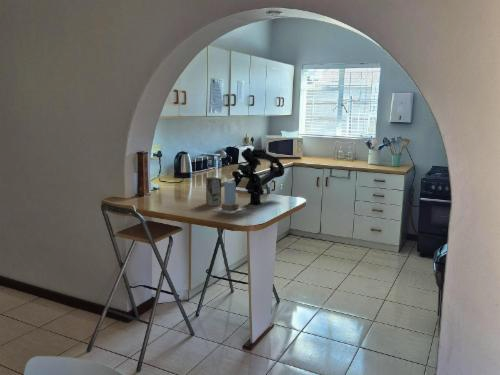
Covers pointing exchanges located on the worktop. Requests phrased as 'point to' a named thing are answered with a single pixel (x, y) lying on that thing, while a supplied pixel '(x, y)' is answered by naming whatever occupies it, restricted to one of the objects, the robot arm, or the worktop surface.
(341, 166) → the worktop surface
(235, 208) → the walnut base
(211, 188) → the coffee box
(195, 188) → the worktop surface
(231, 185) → the pillar
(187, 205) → the worktop surface
